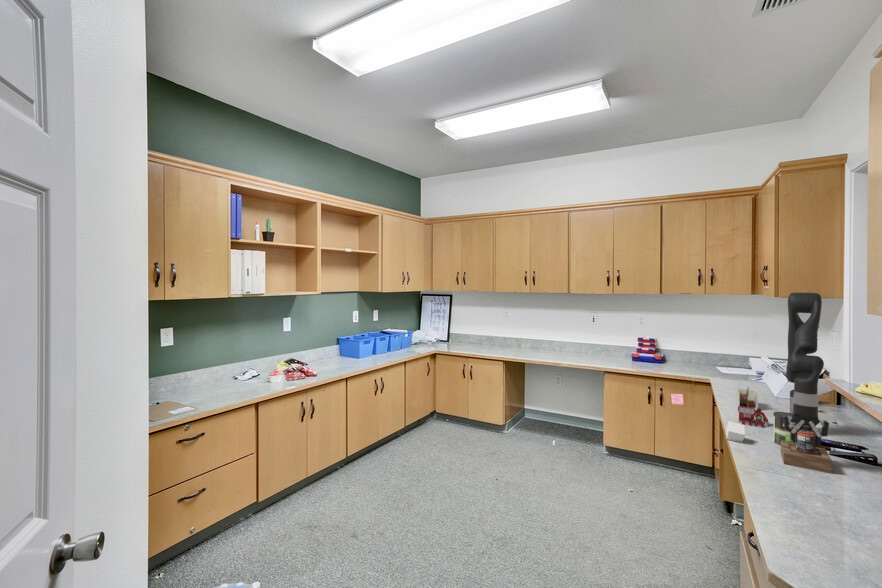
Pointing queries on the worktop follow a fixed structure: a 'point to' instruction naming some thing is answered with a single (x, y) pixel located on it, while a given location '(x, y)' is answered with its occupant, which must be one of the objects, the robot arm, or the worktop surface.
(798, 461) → the walnut block
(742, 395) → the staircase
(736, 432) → the white cube
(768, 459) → the worktop surface
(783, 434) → the coffee can
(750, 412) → the toy fire truck
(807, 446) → the supplement bottle
